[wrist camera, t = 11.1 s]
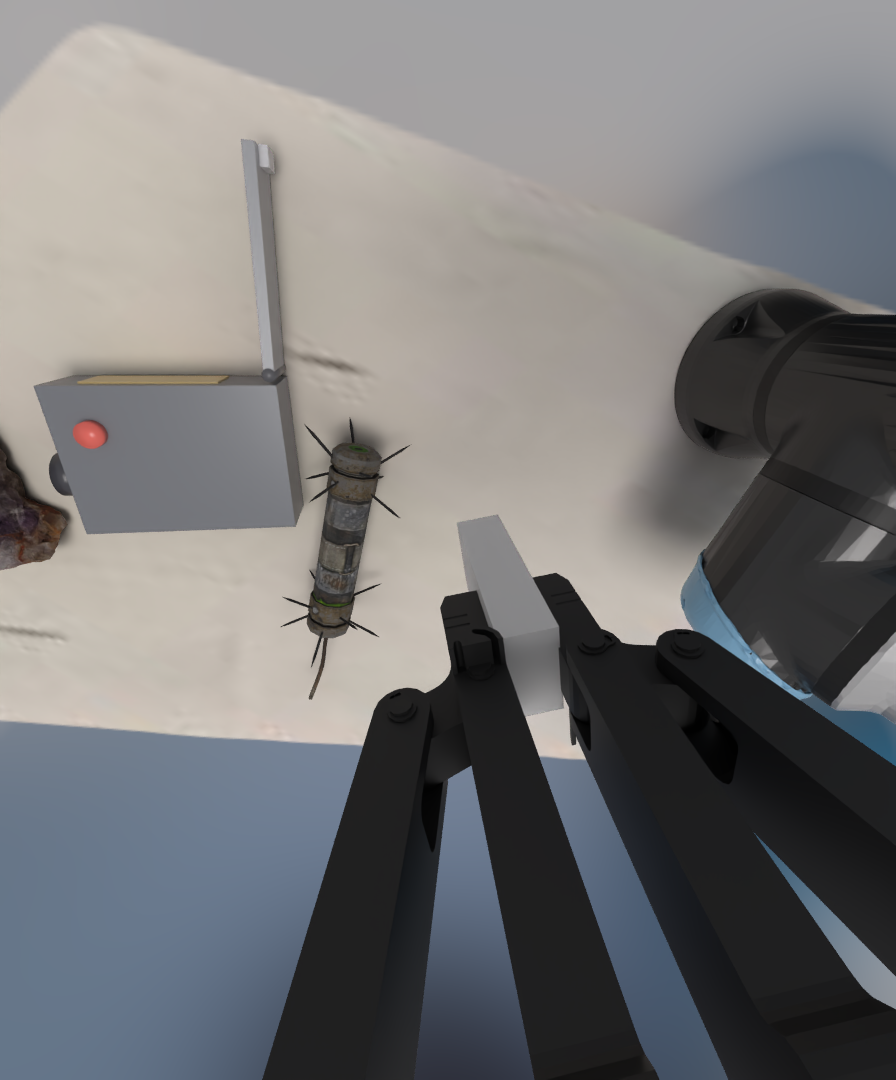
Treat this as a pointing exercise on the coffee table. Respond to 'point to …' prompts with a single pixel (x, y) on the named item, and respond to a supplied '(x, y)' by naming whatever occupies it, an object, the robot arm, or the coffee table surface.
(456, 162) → the coffee table surface
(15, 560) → the rock
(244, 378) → the camera body
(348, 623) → the bomb
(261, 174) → the side door
